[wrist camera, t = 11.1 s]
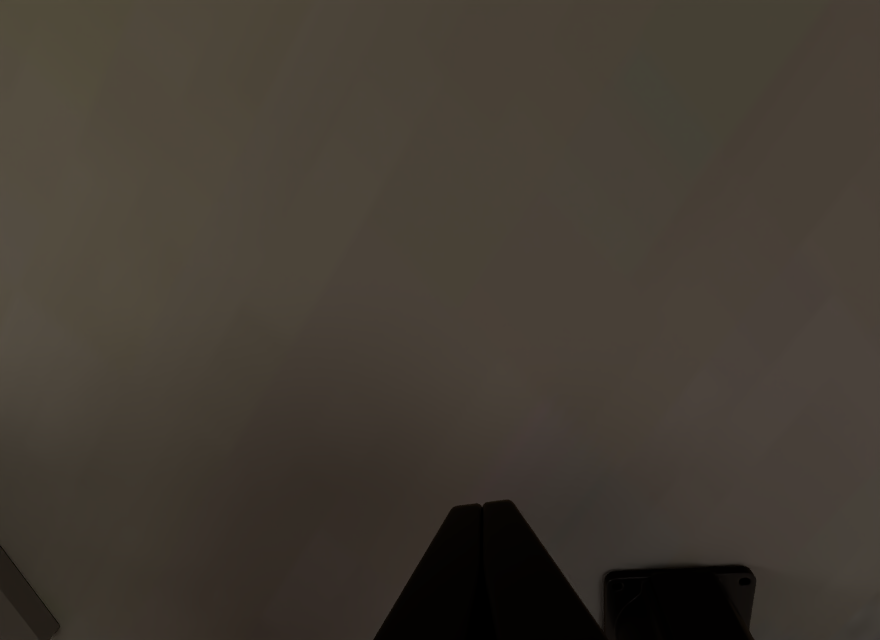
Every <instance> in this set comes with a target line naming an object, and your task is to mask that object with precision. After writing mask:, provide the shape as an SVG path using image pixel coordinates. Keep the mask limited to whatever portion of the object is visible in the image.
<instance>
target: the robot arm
mask: <svg viewBox="0 0 880 640" xmlns="http://www.w3.org/2000/svg"><path fill="white" fill-rule="evenodd" d="M614 583H617V584H614ZM755 586H756V578H755V576H754V574H753V573H752V571H751V570H750V569H749V568H748V567H745V566H732V567H708V568H684V569H660V570H636V571H615V572H611V573H609V574H607V575H606V577H605V579H604V632H603V631H602V629H601V628H600V626H599V625H598V624H597V622H596V621H595V619H594V618H593V616H592V615H591V613H590V612H589V611H588V609H587V608H586V606H585V605H584V603H583V602H582V601H581V599H580V598H579V596H578V595H577V593H576V592H575V591H574V589H573V588H572V586H571V585H570V583H569V582H568V580H567V579H566V578H565V576H564V575H563V573H562V572H561V570H560V569H559V568H558V566H557V565H556V563H555V562H554V560H553V559H552V557H551V556H550V555H549V553H548V552H547V550H546V549H545V547H544V546H543V545H542V543H541V542H540V540H539V539H538V537H537V536H536V534H535V533H534V532H533V530H532V529H531V527H530V526H529V524H528V523H527V522H526V520H525V519H524V517H523V516H522V514H521V513H520V511H519V510H518V509H517V507H516V506H515V504H514V503H513V502H512V501H511V500H500V501H492V502H486V503H485V504H484V505H483V507H482V506H481V505H480V504H478V503H475V504H467V505H459V506H455V507H453V508H452V509H451V510H450V512H449V514H448V515H447V517H446V519H445V520H444V522H443V524H442V525H441V527H440V529H439V530H438V532H437V534H436V535H435V537H434V539H433V541H432V542H431V544H430V546H429V547H428V549H427V551H426V552H425V554H424V556H423V557H422V559H421V561H420V562H419V564H418V566H417V567H416V569H415V571H414V572H413V574H412V576H411V577H410V579H409V581H408V582H407V584H406V586H405V587H404V589H403V591H402V593H401V594H400V596H399V598H398V599H397V601H396V603H395V604H394V606H393V608H392V609H391V611H390V613H389V614H388V616H387V618H386V619H385V621H384V623H383V624H382V626H381V628H380V629H379V631H378V633H377V634H376V636H375V638H374V639H373V640H754V638H753V637H752V635H751V633H750V631H749V626H750V620H751V613H752V606H753V599H754V593H755Z"/></svg>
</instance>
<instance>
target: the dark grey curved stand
mask: <svg viewBox="0 0 880 640" xmlns="http://www.w3.org/2000/svg"><path fill="white" fill-rule="evenodd" d="M59 627H60V626H59V624H58V623H57V622H56V620H55V619H54V618H53V616H52V615H51V614H50V612H49V611H48V610H47V608H46V607H45V606H44V604H43V603H42V602H41V600H40V599H39V598H38V596H37V595H36V594H35V592H34V591H33V590H32V588H31V587H30V586H29V584H28V583H27V582H26V580H25V579H24V578H23V576H22V575H21V574H20V572H19V571H18V570H17V568H16V567H15V566H14V564H13V563H12V562H11V560H10V559H9V558H8V556H7V555H6V553H5V552H4V551H3V549H2V548H1V547H0V640H49V639H50V638H51V637H52V636H53V634H54V633H55V632H56V630H57V629H58V628H59Z"/></svg>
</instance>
